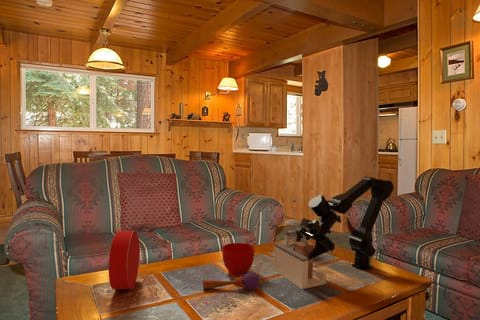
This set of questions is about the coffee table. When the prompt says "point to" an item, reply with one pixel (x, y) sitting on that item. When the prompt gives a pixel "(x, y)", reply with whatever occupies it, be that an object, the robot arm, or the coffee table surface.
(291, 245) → the french press
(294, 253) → the cleat board
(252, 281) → the kendama
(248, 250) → the ceramic cup
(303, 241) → the block
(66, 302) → the coffee table surface
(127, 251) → the toy clock
